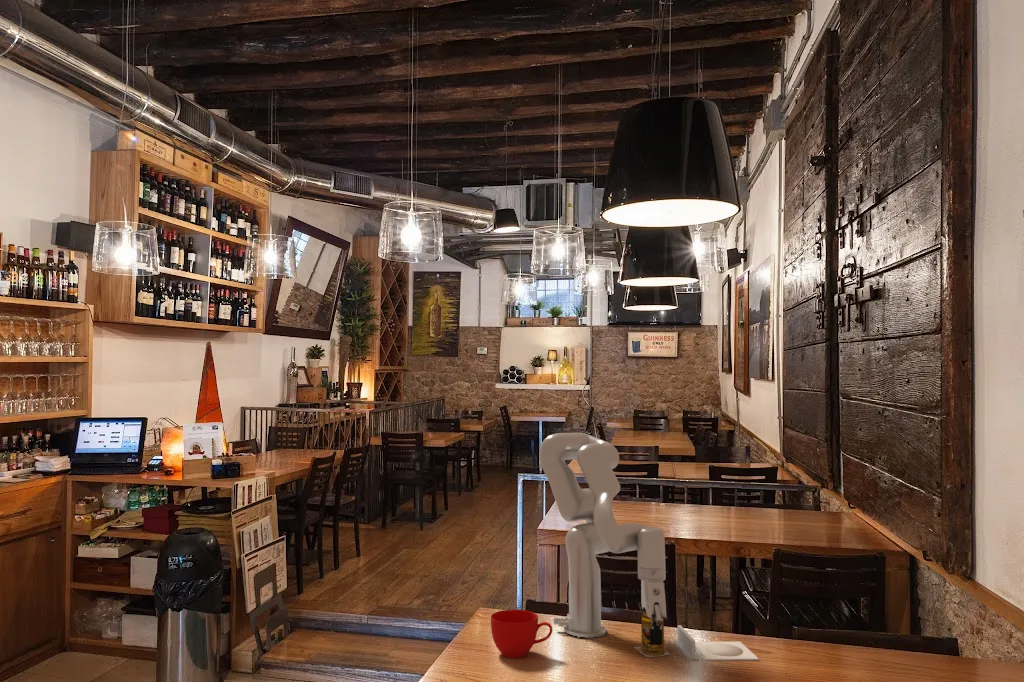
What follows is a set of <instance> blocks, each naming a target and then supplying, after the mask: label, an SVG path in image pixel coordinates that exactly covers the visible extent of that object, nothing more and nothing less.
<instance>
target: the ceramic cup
mask: <svg viewBox="0 0 1024 682" xmlns="http://www.w3.org/2000/svg"><path fill="white" fill-rule="evenodd" d="M542 626H547V627H548V628H549V632H548V633H547V635H546V636H544V637H542V638H540V639H537V635H538V634H537V633H538V630H539V628H541V627H542ZM490 628H491V629H490V631H491V636H492V640H493V642H494V645H495V646H496V648H497V650H498V651H499V652H500V653H501V655H502V656H503V657H505V658H508V659H520V658H523V657H526V656H527V654H528V653H529V652H530V650H532V648H533V647H534V645H535V644H540V643H542V642H545V641H547V640H548V639H550V637H551V635H552V634H553V626H552V624H551V623H549V622H546V621H544V622H539V615H538V614H537V613H535V612H534V611H529V610H525V609H524V610H523V609H505V610H499V611H495V612H494V613H492V614H491V615H490Z"/></svg>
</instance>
